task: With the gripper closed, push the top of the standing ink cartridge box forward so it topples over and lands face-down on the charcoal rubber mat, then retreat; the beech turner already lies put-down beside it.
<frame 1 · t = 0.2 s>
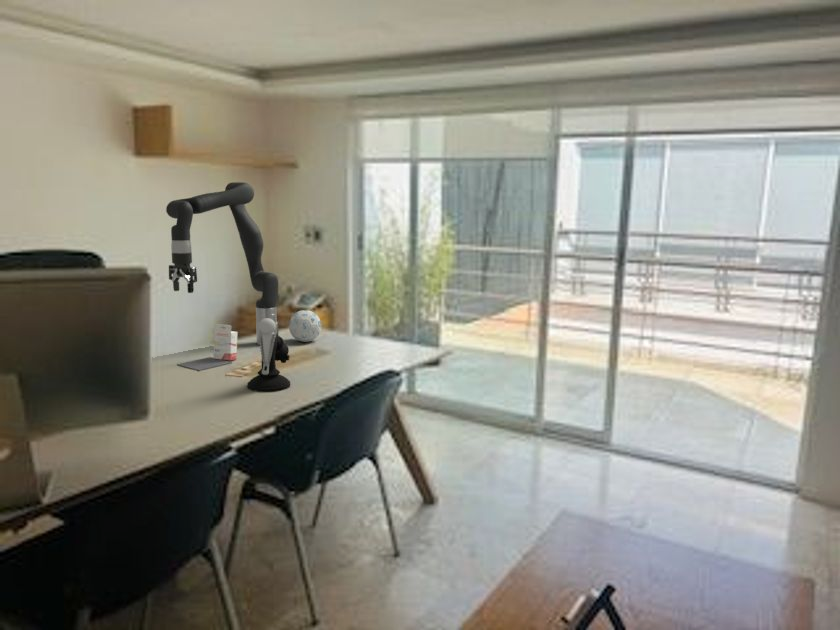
hand: (183, 291, 265), 29 cm above the table, fingers open, 8 cm apart
puzzle ball: (305, 341, 312), on the table
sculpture: (273, 383, 242), on the table
rubber mat: (204, 364, 266), on the table
ink cartridge box: (224, 359, 274), on the table, touching rubber mat
beech turner: (245, 370, 258), on the table
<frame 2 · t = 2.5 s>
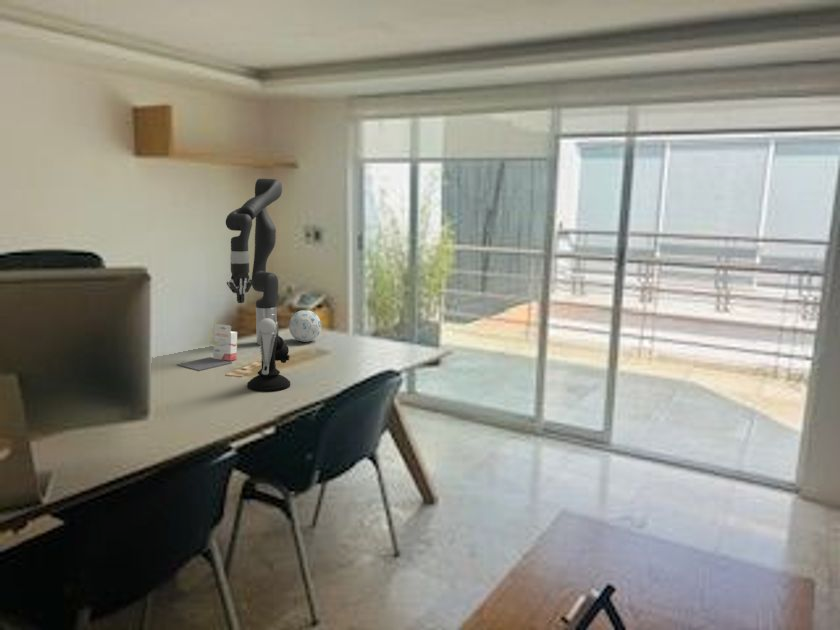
hand: (240, 302, 277), 23 cm above the table, fingers closed
nothing on the table moved.
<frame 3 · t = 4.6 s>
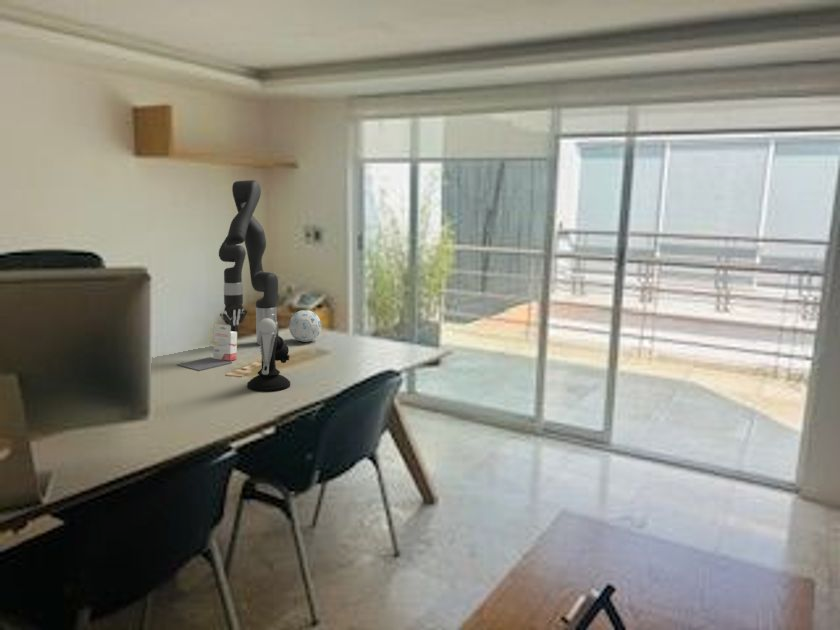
hand: (234, 333, 276), 10 cm above the table, fingers closed
ink cartridge box: (224, 359, 274), on the table, touching gripper, rubber mat
everything else where it was.
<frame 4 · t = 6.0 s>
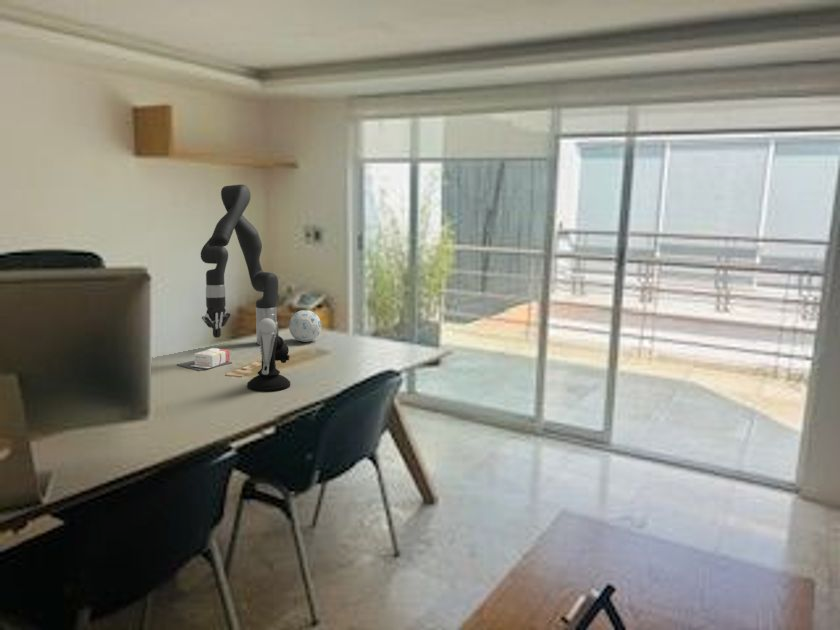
hand: (216, 337, 269), 10 cm above the table, fingers closed
ink cartridge box: (221, 354, 272), point 3 cm above the table, touching rubber mat
everything else where it was.
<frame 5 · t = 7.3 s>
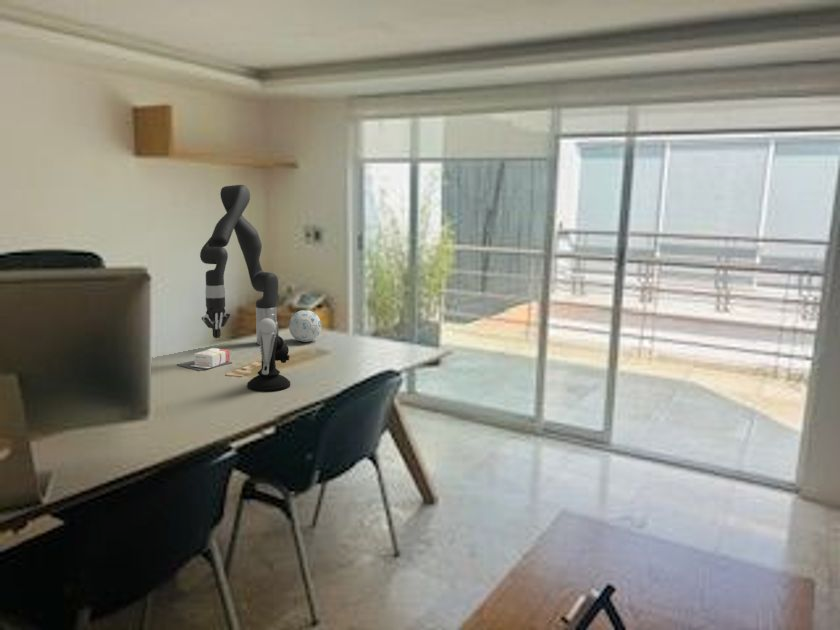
hand: (216, 337, 269), 10 cm above the table, fingers closed
nothing on the table moved.
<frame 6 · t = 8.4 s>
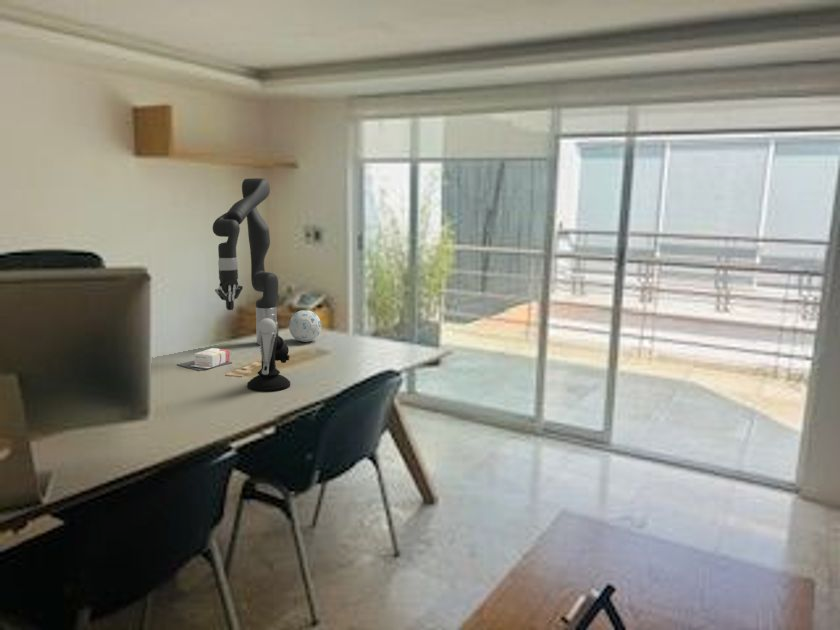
hand: (230, 309, 273), 21 cm above the table, fingers closed
nothing on the table moved.
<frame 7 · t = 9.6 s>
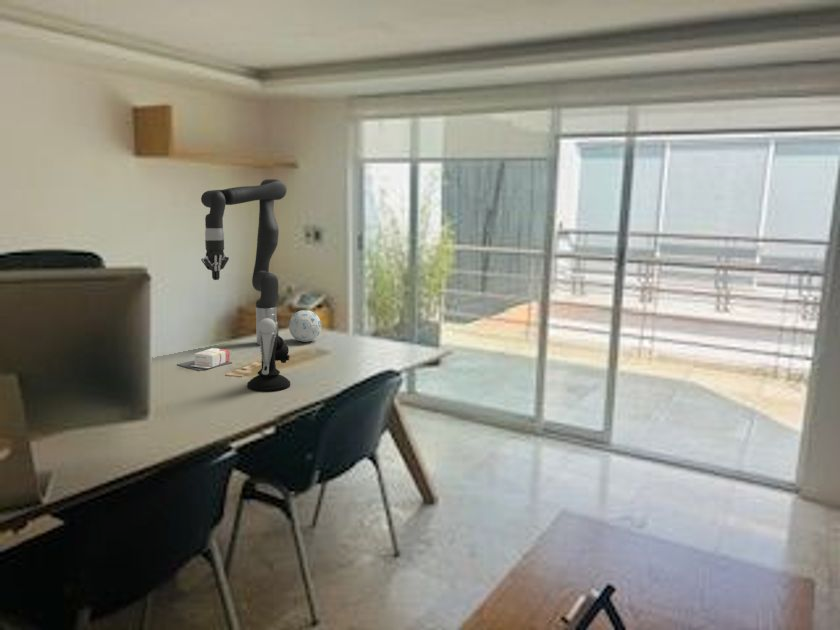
hand: (215, 279, 280), 32 cm above the table, fingers closed
nothing on the table moved.
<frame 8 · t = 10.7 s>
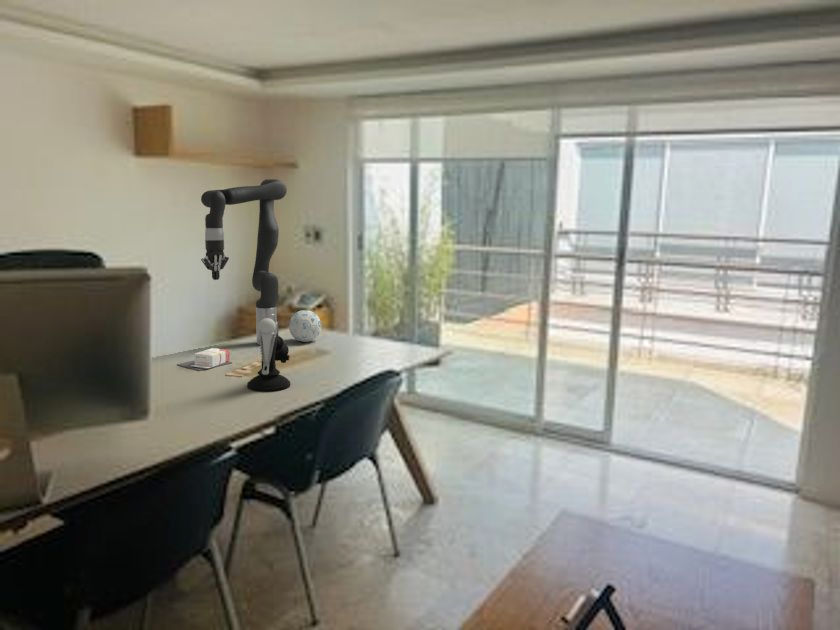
hand: (215, 279, 280), 32 cm above the table, fingers closed
nothing on the table moved.
at the end: ink cartridge box tilted 90°; ink cartridge box 7.8 cm from the rubber mat (horizontally); beech turner moved 0.1 cm from its start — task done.
